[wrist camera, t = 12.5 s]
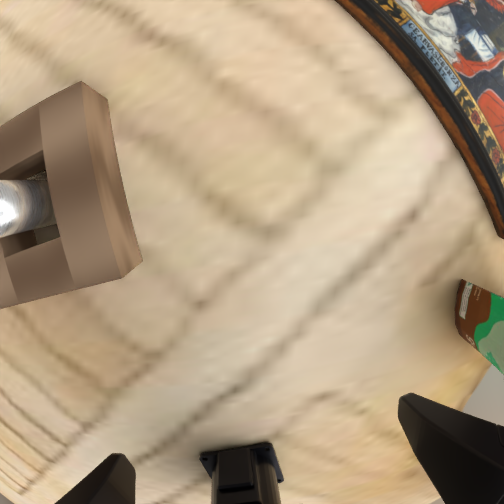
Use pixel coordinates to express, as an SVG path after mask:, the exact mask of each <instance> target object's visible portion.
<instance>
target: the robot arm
mask: <svg viewBox="0 0 504 504" xmlns="http://www.w3.org/2000/svg"><path fill="white" fill-rule="evenodd" d="M398 419H399V421H400V423H401V426H402V428H403V430H404V432H405V434H406V436H407V439H408V441H409V443H410V445H411V447H412V449H413V452H414V454H415V455H416V457H417V459H418V461H419V462H420V464H421V465H422V467H423V468H424V470H425V472H426V473H427V475H428V477H429V478H430V480H431V481H432V483H433V485H434V486H435V488H436V489H437V491H438V493H439V494H440V496H441V498H442V499H443V501H444V503H445V504H504V426H501V425H496V424H495V423H491V422H489V421H486V420H483V419H480V418H477V417H474V416H472V415H469V414H466V413H463V412H461V411H458V410H455V409H453V408H450V407H447V406H445V405H442V404H439V403H437V402H434V401H432V400H429V399H427V398H424V397H422V396H419V395H417V394H414V393H408V394H406V395H403V396H401V397H400V398H399V405H398ZM199 459H200V461H201V463H202V464H203V466H204V468H205V469H206V471H207V473H208V474H209V476H210V477H211V479H212V492H211V504H281V500H280V494H279V489H278V483H281V482H283V481H284V478H283V475H282V472H281V469H280V466H279V463H278V460H277V457H276V454H275V451H274V447H273V445H272V444H271V443H263V444H258V445H253V446H247V447H241V448H235V449H229V450H222V451H214V452H206V453H201V454H200V458H199ZM135 479H136V472H135V469H134V467H133V466H132V464H131V463H130V462H129V460H128V459H127V458H126V456H125V455H124V454H122V453H112V454H111V455H109V456H108V457H107V458H106V459H105V460H104V461H103V462H102V463H101V464H99V465H98V466H97V467H96V468H95V469H94V470H93V471H92V472H91V473H89V474H88V475H87V476H86V477H85V478H84V479H83V480H82V481H80V482H79V483H78V484H77V485H76V486H75V487H74V488H72V489H71V490H70V491H69V492H68V493H67V494H65V495H64V496H63V497H62V498H61V499H60V500H58V501H57V502H56V503H55V504H135Z"/></svg>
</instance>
